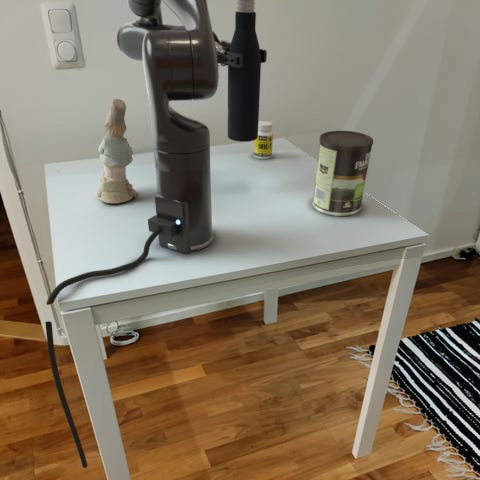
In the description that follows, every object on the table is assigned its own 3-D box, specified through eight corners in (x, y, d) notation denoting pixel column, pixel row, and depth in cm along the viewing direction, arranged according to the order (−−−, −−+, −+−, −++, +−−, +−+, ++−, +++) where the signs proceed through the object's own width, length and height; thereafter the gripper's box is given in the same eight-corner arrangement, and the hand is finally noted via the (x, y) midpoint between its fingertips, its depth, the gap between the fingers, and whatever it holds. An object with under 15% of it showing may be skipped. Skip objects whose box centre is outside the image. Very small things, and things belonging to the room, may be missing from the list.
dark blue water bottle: (263, 138, 99) (273, -41, 80) (238, 143, 96) (242, -41, 78) (246, 130, 103) (251, -42, 85) (221, 135, 100) (221, -42, 82)
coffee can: (368, 203, 101) (381, 136, 92) (349, 221, 94) (361, 149, 85) (324, 192, 105) (333, 127, 97) (303, 208, 98) (310, 139, 90)
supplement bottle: (256, 160, 121) (257, 126, 116) (251, 154, 125) (252, 121, 120) (274, 158, 123) (276, 125, 117) (268, 152, 126) (270, 120, 121)
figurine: (140, 203, 99) (127, 102, 87) (99, 207, 98) (80, 104, 85) (136, 187, 106) (124, 91, 94) (98, 190, 104) (81, 93, 92)
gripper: (164, 29, 91) (229, 39, 82) (215, 24, 100) (278, 32, 91) (167, 72, 95) (228, 86, 87) (215, 63, 104) (275, 75, 96)
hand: (253, 58), depth 89 cm, fingers closed on dark blue water bottle, 6 cm apart
